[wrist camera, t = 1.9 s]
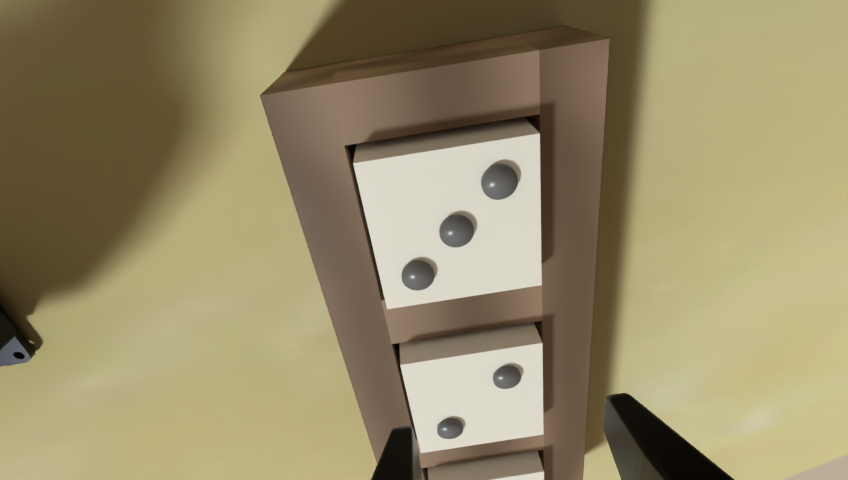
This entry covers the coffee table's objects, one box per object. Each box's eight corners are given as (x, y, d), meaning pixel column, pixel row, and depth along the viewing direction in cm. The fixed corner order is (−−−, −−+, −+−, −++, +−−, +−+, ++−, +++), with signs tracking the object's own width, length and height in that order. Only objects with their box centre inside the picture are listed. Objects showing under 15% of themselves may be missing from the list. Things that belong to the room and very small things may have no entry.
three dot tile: (387, 271, 20) (387, 312, 17) (357, 138, 17) (352, 165, 14) (524, 249, 20) (543, 288, 17) (519, 112, 17) (541, 135, 14)
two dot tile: (417, 409, 24) (420, 456, 22) (398, 323, 21) (400, 368, 19) (529, 391, 24) (544, 438, 22) (526, 304, 21) (543, 346, 19)
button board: (404, 493, 32) (406, 555, 29) (284, 71, 18) (259, 95, 14) (558, 469, 32) (579, 529, 29) (566, 26, 18) (609, 38, 14)
